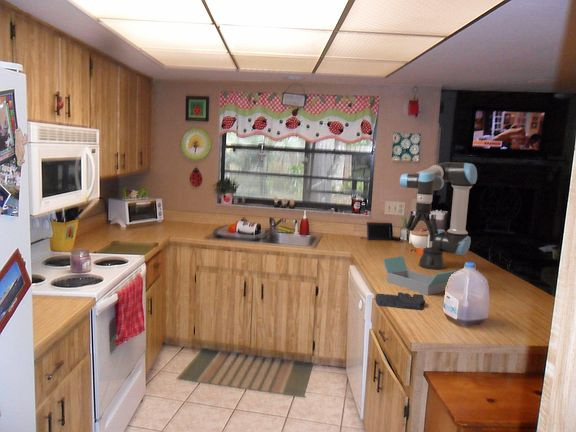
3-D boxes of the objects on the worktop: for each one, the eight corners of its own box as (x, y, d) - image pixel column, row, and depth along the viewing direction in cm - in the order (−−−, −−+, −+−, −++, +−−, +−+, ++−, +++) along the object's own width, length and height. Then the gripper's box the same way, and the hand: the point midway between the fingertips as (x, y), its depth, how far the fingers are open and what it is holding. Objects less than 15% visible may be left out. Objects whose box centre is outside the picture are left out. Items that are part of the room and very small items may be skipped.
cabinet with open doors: (381, 279, 252) (382, 258, 250) (400, 276, 261) (402, 256, 260) (434, 297, 225) (436, 273, 223) (453, 292, 234) (456, 270, 233)
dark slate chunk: (374, 296, 222) (375, 287, 222) (421, 301, 219) (422, 291, 219) (375, 307, 207) (376, 296, 207) (426, 312, 204) (427, 301, 204)
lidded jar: (405, 245, 243) (406, 227, 242) (422, 244, 247) (423, 227, 246) (417, 249, 233) (419, 231, 232) (435, 249, 237) (437, 230, 236)
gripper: (401, 200, 244) (397, 241, 247) (439, 205, 226) (434, 250, 229) (410, 199, 248) (406, 240, 252) (448, 205, 230) (443, 248, 233)
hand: (420, 245), depth 240 cm, fingers closed on lidded jar, 11 cm apart
